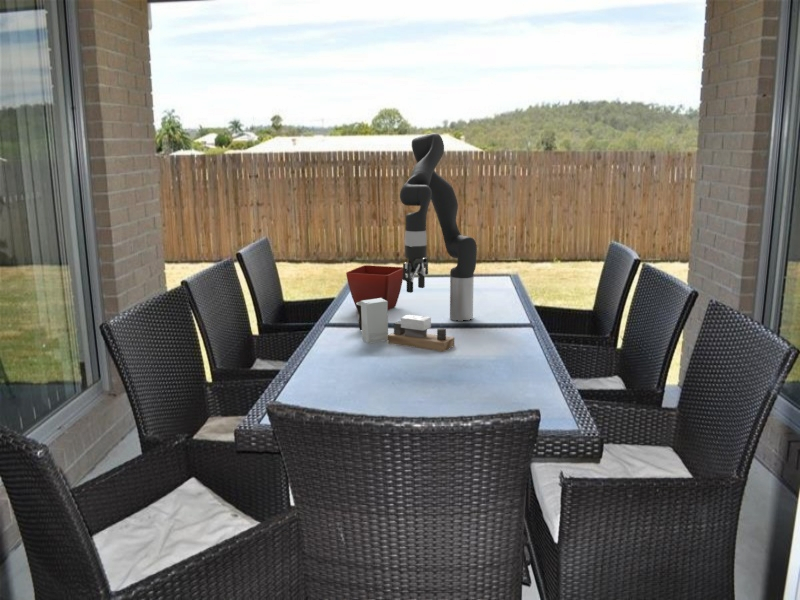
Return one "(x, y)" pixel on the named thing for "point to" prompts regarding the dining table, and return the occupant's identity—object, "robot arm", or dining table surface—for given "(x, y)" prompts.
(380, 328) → the skincare box
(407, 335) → the body
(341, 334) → the dining table surface
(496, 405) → the dining table surface
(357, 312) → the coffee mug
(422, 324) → the lever cap
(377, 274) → the plant pot
